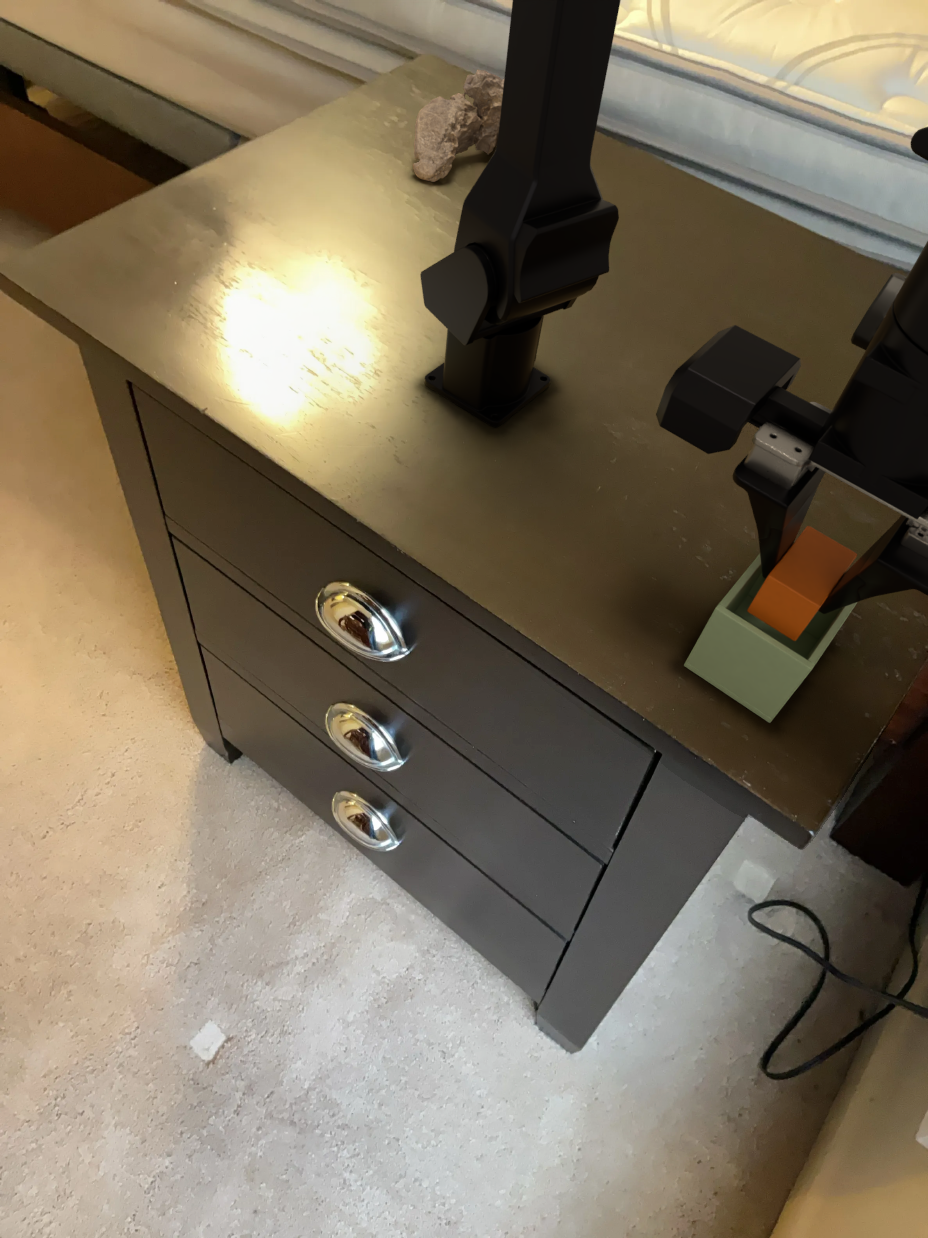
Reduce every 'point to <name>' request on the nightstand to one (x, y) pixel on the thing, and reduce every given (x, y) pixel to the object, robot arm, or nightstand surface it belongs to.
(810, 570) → the orange block
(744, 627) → the trash bin
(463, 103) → the rock
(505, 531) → the nightstand surface
